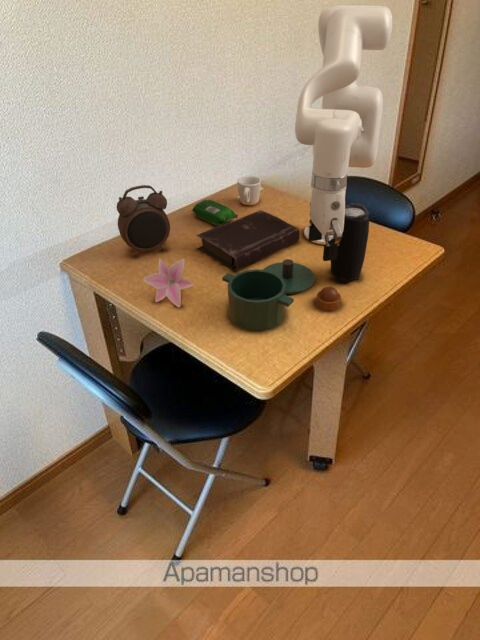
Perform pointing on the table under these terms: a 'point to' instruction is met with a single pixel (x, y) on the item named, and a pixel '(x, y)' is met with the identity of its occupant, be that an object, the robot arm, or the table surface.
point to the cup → (249, 189)
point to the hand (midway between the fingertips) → (322, 249)
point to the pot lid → (293, 275)
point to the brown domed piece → (328, 299)
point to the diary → (248, 239)
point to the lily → (169, 281)
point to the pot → (256, 299)
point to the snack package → (213, 212)
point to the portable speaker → (351, 244)
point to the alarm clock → (143, 221)
